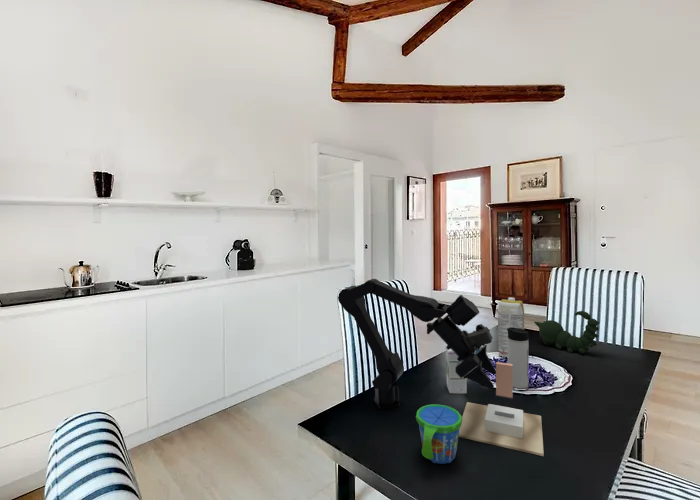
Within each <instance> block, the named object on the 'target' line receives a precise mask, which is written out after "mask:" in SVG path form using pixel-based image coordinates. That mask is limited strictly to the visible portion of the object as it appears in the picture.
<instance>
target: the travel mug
mask: <svg viewBox="0 0 700 500" xmlns="http://www.w3.org/2000/svg"><path fill="white" fill-rule="evenodd" d="M507 331H508V358H507V363H508V364H513V388H517V389H527V388H528V389H529V331H526V330H525V329H524V330H523V329H519V328H507ZM528 389H527V390H528Z"/></svg>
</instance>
